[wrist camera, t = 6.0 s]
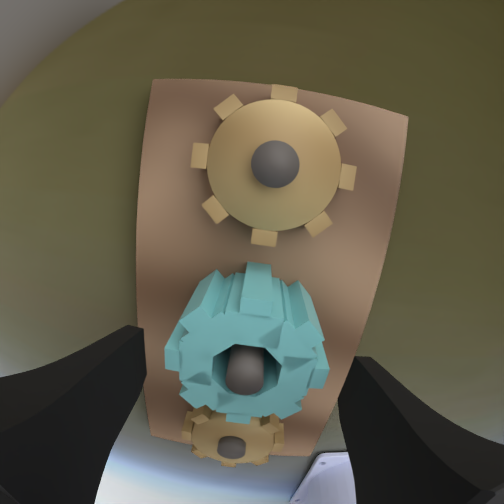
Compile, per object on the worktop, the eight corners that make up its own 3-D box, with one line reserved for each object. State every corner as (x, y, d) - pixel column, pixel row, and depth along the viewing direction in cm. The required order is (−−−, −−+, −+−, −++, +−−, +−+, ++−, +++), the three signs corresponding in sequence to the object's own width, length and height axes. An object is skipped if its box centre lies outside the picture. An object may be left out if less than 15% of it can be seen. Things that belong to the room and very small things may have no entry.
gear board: (308, 442, 16) (314, 501, 11) (156, 422, 16) (134, 478, 11) (396, 120, 10) (460, 102, 6) (163, 86, 10) (109, 49, 6)
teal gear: (300, 378, 13) (307, 428, 10) (185, 363, 13) (168, 410, 10) (327, 272, 11) (348, 309, 8) (189, 253, 11) (163, 285, 8)
